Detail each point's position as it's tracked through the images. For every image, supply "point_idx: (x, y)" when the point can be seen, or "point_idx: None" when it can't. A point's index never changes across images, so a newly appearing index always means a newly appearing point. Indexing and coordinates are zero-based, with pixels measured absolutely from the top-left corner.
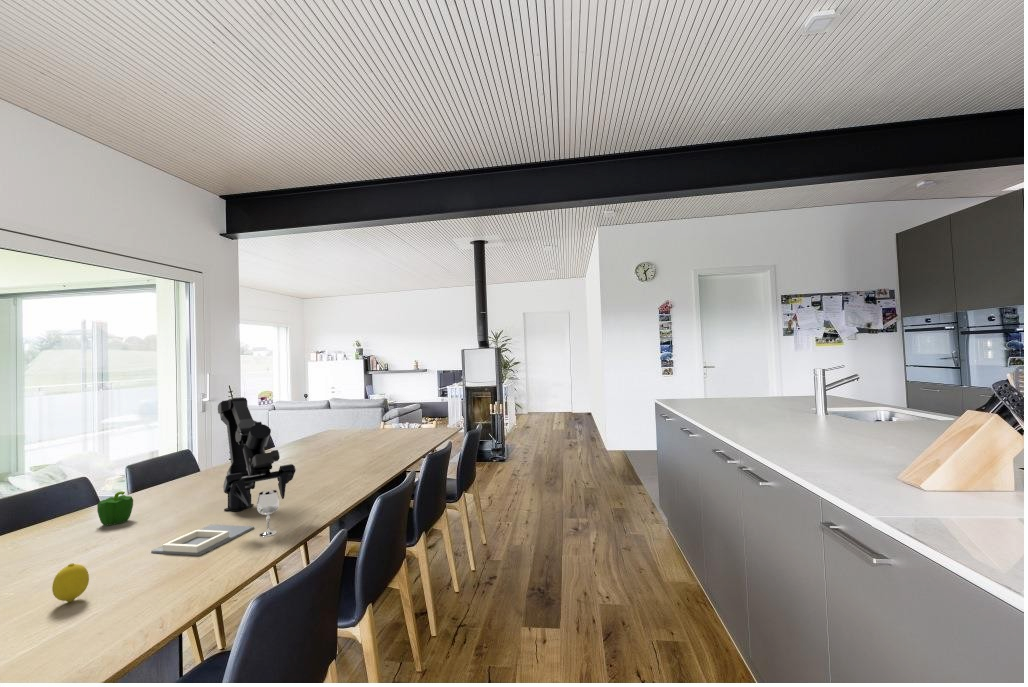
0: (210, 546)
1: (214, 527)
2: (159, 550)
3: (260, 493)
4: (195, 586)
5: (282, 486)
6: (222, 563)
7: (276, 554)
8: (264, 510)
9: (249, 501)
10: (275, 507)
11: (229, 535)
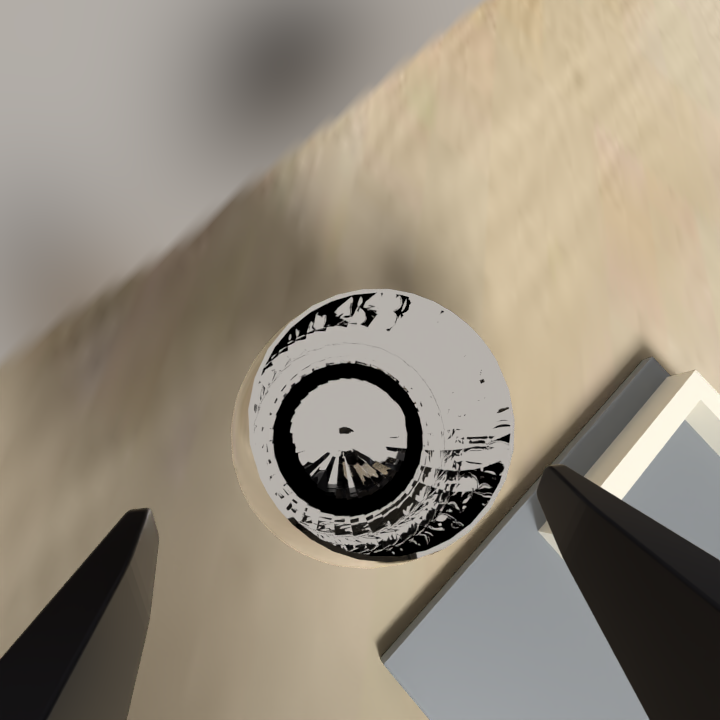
0: (619, 427)
1: None
2: None
3: (479, 510)
4: (621, 70)
5: (53, 676)
6: (552, 194)
7: (348, 117)
8: (396, 348)
9: (568, 481)
10: (294, 346)
11: (536, 559)
